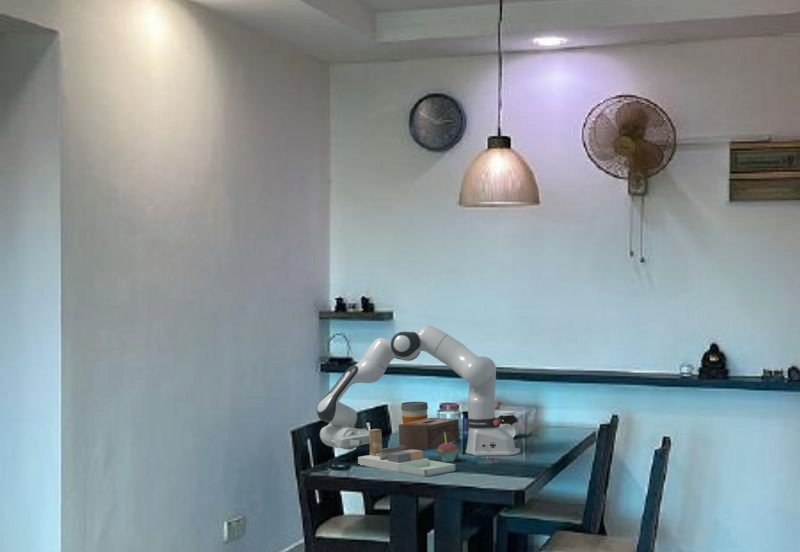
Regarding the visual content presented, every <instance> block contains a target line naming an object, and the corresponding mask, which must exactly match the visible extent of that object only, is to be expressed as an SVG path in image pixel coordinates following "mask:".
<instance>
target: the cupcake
mask: <svg viewBox="0 0 800 552" xmlns="http://www.w3.org/2000/svg"><path fill="white" fill-rule="evenodd" d="M444 432H445V431H444ZM444 436H445V443H444V444H441V445H439V447H436V448H437V453H438V454H439V455H440V457H441V460H442V461H441V462H444V463H451V462H454V461H455V460H456V457H457V454H458V453H459V451H460V449H459V446H458V445H457V444H455V443H447V439H446V433H444Z"/></svg>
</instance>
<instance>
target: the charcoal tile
mask: <svg viewBox="0 0 800 552" xmlns="http://www.w3.org/2000/svg"><path fill="white" fill-rule="evenodd" d="M388 461H389V462H395V463H401V462H406V461H410V453H407V452H401V451H399V452H393V453H388Z"/></svg>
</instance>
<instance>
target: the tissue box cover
mask: <svg viewBox="0 0 800 552" xmlns="http://www.w3.org/2000/svg"><path fill="white" fill-rule="evenodd" d="M444 431H445V432H444ZM444 433H446V439H447V443H450V442H453V441H457V440H459V441H460V421H459V419H458V418H448V417H447V418H444V417H427V419H423V420H418V421H414V422H409V423H404V424H403V423H401V424H398V446H405V449H414V450H431V449H434V447H435V448H438V446H439V445H441V444H444V443H445V436H444ZM457 442H458V441H457Z"/></svg>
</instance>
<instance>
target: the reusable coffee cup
mask: <svg viewBox="0 0 800 552" xmlns="http://www.w3.org/2000/svg"><path fill="white" fill-rule="evenodd" d="M428 409H429V406H428V402H427V401H408V402H407V401H405V402H401V407H400V410H401V413H402V414H401V417H402V418H401V420H402V424H404V423H409V422H414V421H418V420H423V419H427V418H429V417H428V416H429V415H428Z"/></svg>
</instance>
